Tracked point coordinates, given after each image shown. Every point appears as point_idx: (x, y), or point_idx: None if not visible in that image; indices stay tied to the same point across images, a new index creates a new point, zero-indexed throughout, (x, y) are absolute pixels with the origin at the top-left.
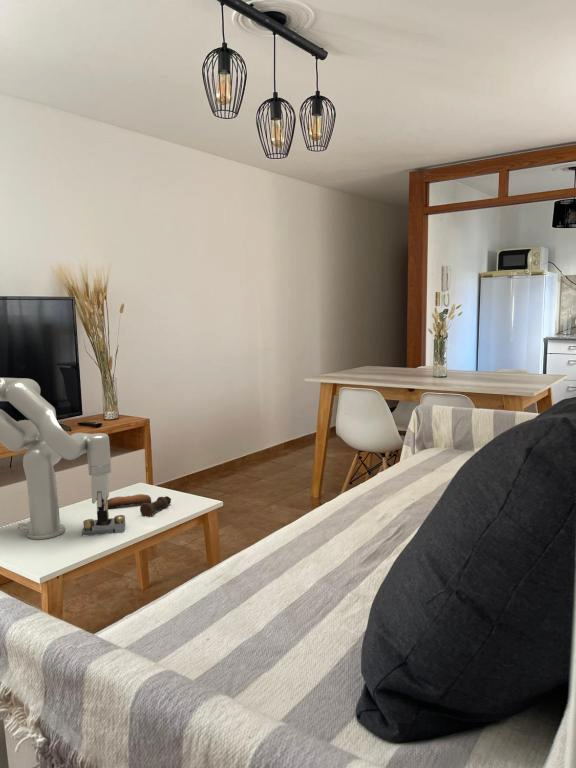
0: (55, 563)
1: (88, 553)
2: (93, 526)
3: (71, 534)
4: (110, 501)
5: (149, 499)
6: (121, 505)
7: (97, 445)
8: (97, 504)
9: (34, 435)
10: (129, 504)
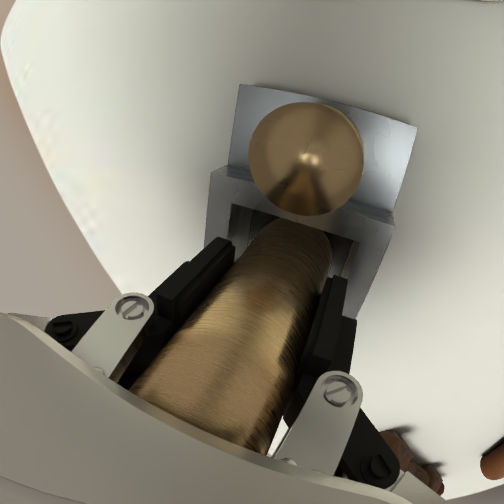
0: (25, 41)
1: (48, 139)
2: (210, 184)
3: (326, 16)
4: None
5: (485, 470)
6: None
7: None
8: (76, 354)
9: None
10: None
